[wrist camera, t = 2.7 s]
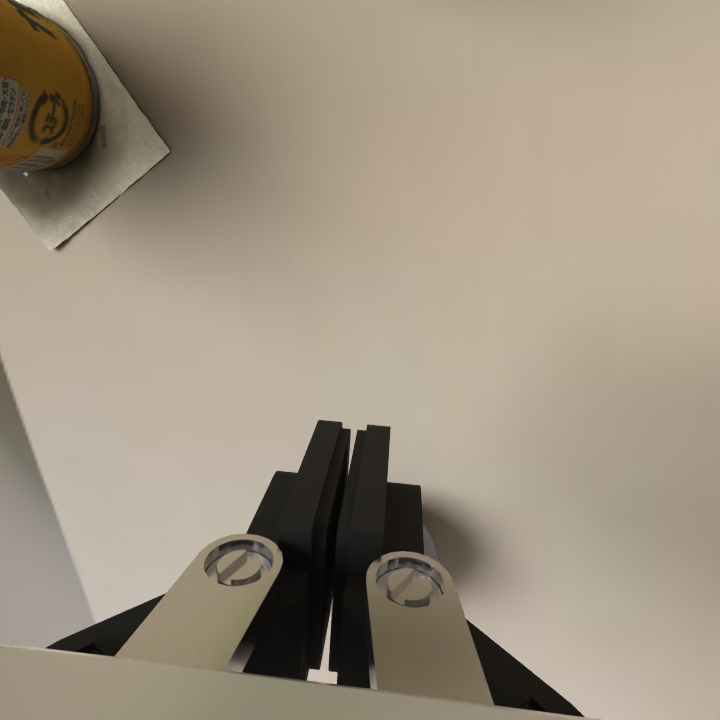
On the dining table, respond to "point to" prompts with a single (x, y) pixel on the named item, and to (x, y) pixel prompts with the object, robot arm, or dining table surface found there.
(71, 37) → the condiment
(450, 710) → the robot arm
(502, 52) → the dining table surface
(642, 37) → the dining table surface
